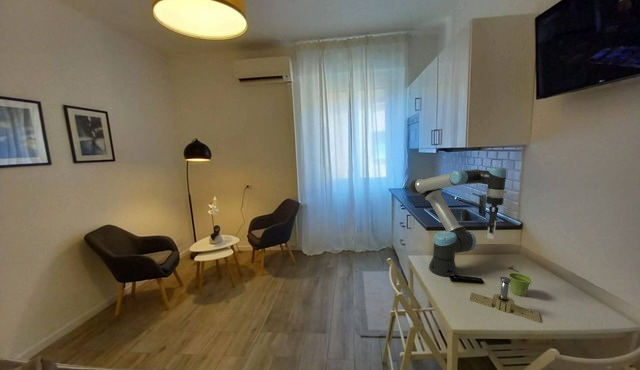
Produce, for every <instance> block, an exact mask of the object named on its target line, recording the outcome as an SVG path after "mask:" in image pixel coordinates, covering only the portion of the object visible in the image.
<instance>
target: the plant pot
mask: <svg viewBox="0 0 640 370" xmlns="http://www.w3.org/2000/svg"><path fill="white" fill-rule="evenodd" d="M508 278H509V279H511V283H509V285H510V292H511V293H512V294H514V295H515V296H518V297H519V296H521V297H525V296H526V295H527V294H528V290H529V286H530V285H531V284H532V282H533V279H532V278H531V277H530V276H527V275H525V274H522V273H518V272H510V273H508Z"/></svg>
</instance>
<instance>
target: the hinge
mask: <svg viewBox="0 0 640 370" xmlns="http://www.w3.org/2000/svg"><path fill="white" fill-rule="evenodd" d="M500 294H501V293H494V294H492V297H488V296H485V295H482V294H478V293H475V292H471V293H470V295H469V296H470V297H469V301H471V302H473V303H476V304H480V305H484V306H487V307H490V308H495V309H496V310H498V311H501V312H504V313H512V314H513V315H514V316H518V317H521V316H522V317H521V318H524V317H525V318H524V319H527V318H528V320H530V319H531V321H534V322H537V323H541V318H540V317H541V316H540V312H539V311H535V310H532V309H528V308H525V307H521V306H518V305H515V300H514V299H513V298H511V297H510V296H508V295H507V302H506V301H502V300H500ZM492 306H493V307H492Z"/></svg>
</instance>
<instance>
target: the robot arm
mask: <svg viewBox="0 0 640 370" xmlns="http://www.w3.org/2000/svg"><path fill="white" fill-rule="evenodd" d="M506 180H507V169H506V168H505V167H494V166H492V167H489V170H483V169H477V168H475V169H469V170H461V169H460V170H453V171H452V172H449V173H446V174H445V173H444V174H441V175H437V176H433V177H429V178H428V177H427V178H416V179H413V180H411V181H410V182H409V184H408V190H409V192H410V193H411V194H412V195H414V196H416V197H417V196H418V197H419V196H423V198H424V199H425V200H426V201H428V202H429V203H430V204H431V205H430V206H431V207H432V209H433V210H434V212H435V213H436V215H437V217H438V219H439V221H440V222H441V224H442V226H443V227H444V229H445V230H446V231H444V230H441V231H437V232H436V233H435V234H434V237H433V252H432V258H431V260H430V261H429V262H430V263H429V264H428V265H429V266H428V269H429V271H430V272H431V273H432V274H434V275H436V276H440V277H445V278H450V277H449V276H450V275H456V276H457V274H458V269H457V266H456V265H457V264H456V261H455V258H456V254H460V253H467V252H470V251H473V249H475V248H476V245H477V238H476V235H474V234H473V233H472V232H471V231H469V230H467V229H466V228H465V226H462V225H460V222H458V220H457V219H456V217H455V215H454V214H453V212H452V211H451V209H450V207H449V206H448V204H447V202H446V201H445V199H444V198H443V196H442V189H444V188H448V187H449V188H450V187H455V186H461V185H472V184H480V185H481V184H482V185H487V189H486V199H485V202H486V204H488V205H490V206H489V207H488V210H489V211H488V215H489V216H488V217H489V220H488V224H486V226H487V233H486V234H487V235H486V239H490V240H494V238H495V237H494V236H495V232H496V224H497V221H498V218H497V216H498V212H499V206H503V205H504V199H505V198H504V196H505V194H506V193H507V192H506V191H505V187H506Z"/></svg>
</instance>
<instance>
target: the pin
mask: <svg viewBox="0 0 640 370" xmlns="http://www.w3.org/2000/svg"><path fill="white" fill-rule="evenodd" d="M500 281H501V288H500V293H499V294H500V300H502V301H506V302H507V296H508V295H509V294H508V293H509V285H510V283H511V279H510V278H509V277H506V276H500Z"/></svg>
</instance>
